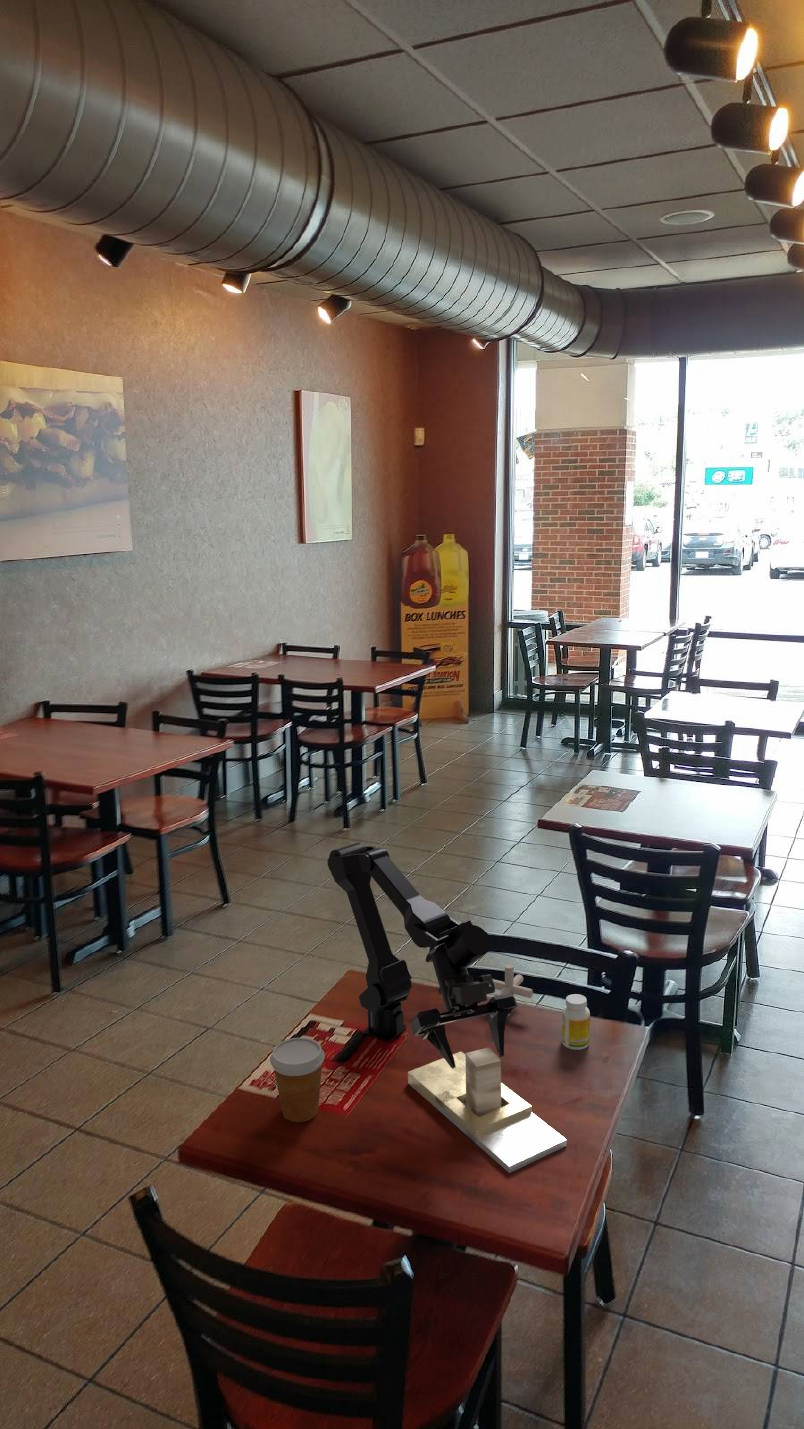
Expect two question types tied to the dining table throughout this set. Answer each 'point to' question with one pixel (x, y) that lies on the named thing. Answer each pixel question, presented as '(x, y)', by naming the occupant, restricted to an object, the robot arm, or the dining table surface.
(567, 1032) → the supplement bottle
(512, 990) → the pipe connector
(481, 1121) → the plate with square hole
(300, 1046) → the disposable coffee cup
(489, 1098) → the maple pin
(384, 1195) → the dining table surface
